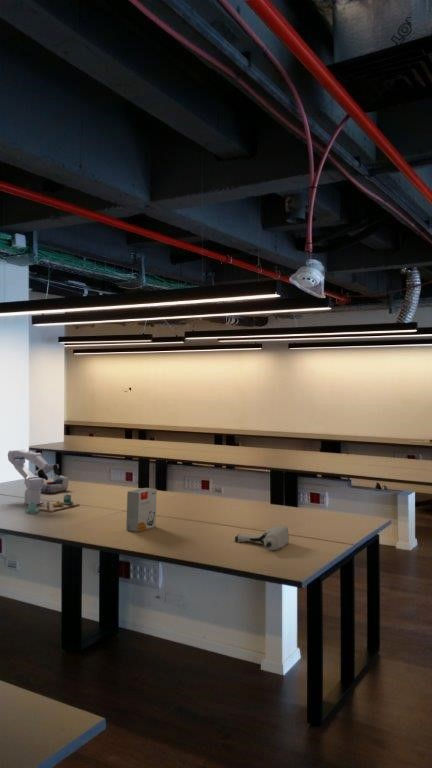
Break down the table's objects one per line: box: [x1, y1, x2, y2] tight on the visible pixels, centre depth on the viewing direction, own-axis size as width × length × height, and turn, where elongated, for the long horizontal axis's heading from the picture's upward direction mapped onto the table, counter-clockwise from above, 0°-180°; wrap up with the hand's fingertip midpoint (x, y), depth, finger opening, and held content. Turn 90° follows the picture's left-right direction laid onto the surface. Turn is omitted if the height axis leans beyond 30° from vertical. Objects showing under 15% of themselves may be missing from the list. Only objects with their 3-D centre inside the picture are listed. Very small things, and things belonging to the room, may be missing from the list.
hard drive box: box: [125, 487, 157, 533], centre depth 298 cm, size 16×8×20 cm, turn 148°
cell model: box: [41, 474, 70, 494], centre depth 397 cm, size 13×11×20 cm
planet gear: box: [24, 502, 40, 514], centre depth 332 cm, size 8×8×5 cm
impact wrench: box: [234, 526, 290, 551], centre depth 268 cm, size 8×23×25 cm
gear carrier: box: [36, 493, 80, 513], centre depth 345 cm, size 23×13×7 cm, turn 150°
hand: (53, 476), depth 342 cm, fingers open, 7 cm apart
